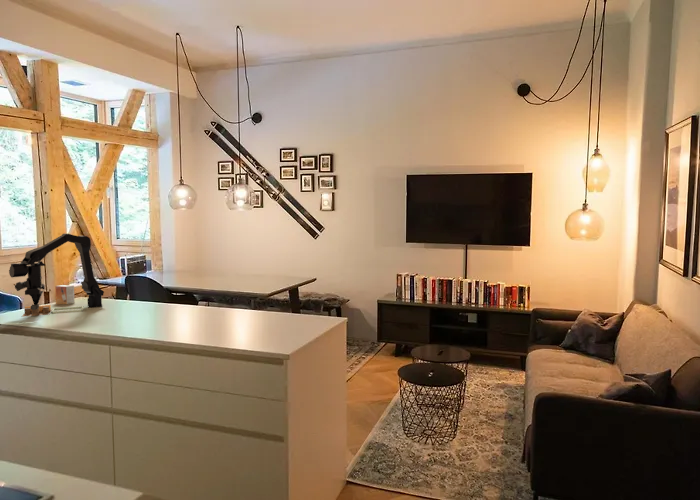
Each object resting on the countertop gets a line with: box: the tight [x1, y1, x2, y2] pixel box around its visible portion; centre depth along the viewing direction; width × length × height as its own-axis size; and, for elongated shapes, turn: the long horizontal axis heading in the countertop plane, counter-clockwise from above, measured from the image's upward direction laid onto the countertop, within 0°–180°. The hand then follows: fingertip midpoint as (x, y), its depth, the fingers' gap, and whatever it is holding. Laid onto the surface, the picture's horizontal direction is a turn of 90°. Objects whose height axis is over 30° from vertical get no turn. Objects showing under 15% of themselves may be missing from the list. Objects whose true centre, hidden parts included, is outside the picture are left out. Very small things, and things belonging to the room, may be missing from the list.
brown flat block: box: [21, 304, 53, 317], centre depth 257 cm, size 12×14×4 cm
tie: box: [30, 303, 40, 310], centre depth 250 cm, size 3×7×2 cm, turn 24°
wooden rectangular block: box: [24, 304, 52, 313], centre depth 258 cm, size 11×4×4 cm, turn 114°
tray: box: [50, 305, 85, 314], centre depth 264 cm, size 14×10×1 cm
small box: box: [54, 284, 76, 305], centre depth 285 cm, size 8×6×10 cm
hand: (35, 306), depth 253 cm, fingers closed
